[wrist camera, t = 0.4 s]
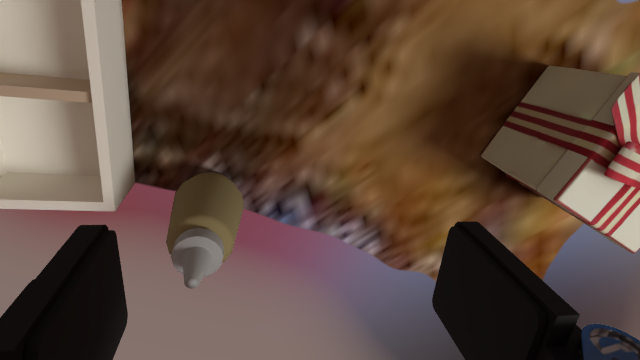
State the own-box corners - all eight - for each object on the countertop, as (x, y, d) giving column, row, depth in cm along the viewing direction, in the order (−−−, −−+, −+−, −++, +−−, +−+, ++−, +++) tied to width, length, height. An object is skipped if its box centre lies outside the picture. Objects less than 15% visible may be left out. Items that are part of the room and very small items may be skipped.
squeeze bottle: (164, 191, 47) (117, 283, 31) (212, 149, 46) (190, 223, 30) (211, 231, 50) (192, 334, 34) (257, 193, 49) (260, 282, 33)
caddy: (-51, -68, 34) (-125, -89, 27) (118, -44, 37) (88, -57, 30) (3, 177, 43) (-44, 207, 36) (135, 182, 46) (115, 211, 39)
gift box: (632, 91, 52) (793, 123, 37) (549, 201, 58) (659, 270, 42) (548, 31, 47) (695, 39, 31) (465, 159, 52) (555, 219, 37)
